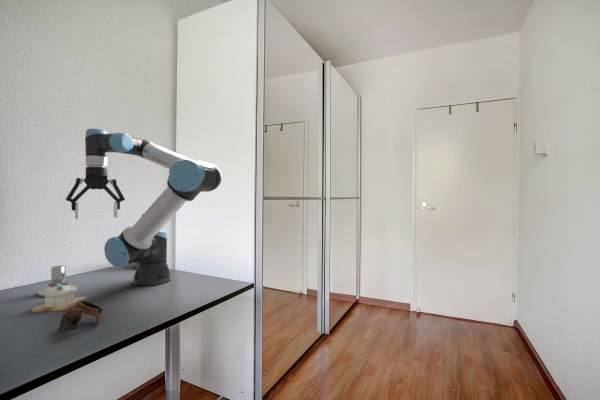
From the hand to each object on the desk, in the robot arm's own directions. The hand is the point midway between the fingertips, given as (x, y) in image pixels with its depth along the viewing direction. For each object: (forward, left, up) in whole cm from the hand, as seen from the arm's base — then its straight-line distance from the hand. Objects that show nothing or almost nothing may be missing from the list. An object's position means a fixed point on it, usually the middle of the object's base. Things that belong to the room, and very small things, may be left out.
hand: (96, 218), depth 125 cm
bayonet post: (+11, +6, -29) cm, 31 cm away
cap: (+1, +21, -28) cm, 35 cm away
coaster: (+1, +21, -29) cm, 36 cm away
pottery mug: (-15, +41, -29) cm, 52 cm away
